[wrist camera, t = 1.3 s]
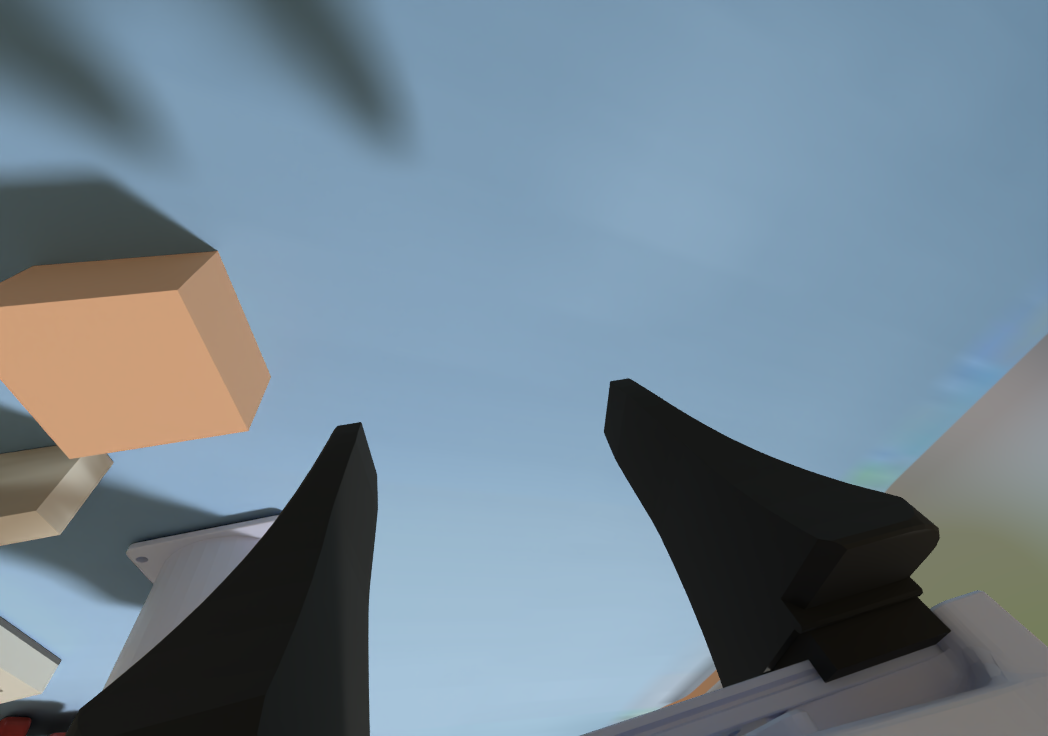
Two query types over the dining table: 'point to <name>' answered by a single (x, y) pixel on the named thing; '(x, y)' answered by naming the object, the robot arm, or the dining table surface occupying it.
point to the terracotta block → (130, 352)
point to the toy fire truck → (18, 727)
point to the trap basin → (23, 664)
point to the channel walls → (44, 491)
